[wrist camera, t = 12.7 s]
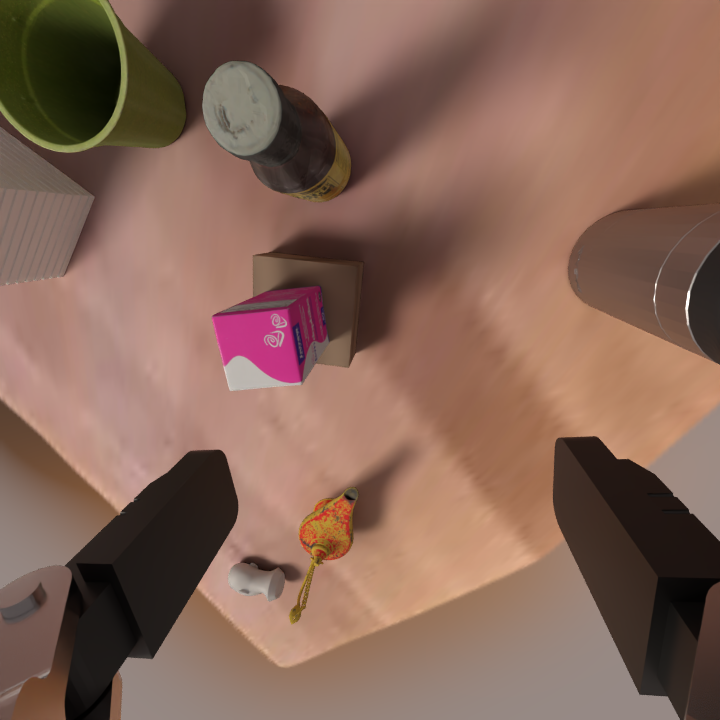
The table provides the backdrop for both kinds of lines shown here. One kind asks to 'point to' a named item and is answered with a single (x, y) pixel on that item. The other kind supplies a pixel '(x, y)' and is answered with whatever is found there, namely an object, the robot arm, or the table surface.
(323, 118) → the sauce bottle
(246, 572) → the smooth white sculpture
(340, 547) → the magic lamp
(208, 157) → the table surface
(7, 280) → the white textured block
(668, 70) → the table surface
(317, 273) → the block
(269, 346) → the supplement box
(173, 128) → the plant pot
